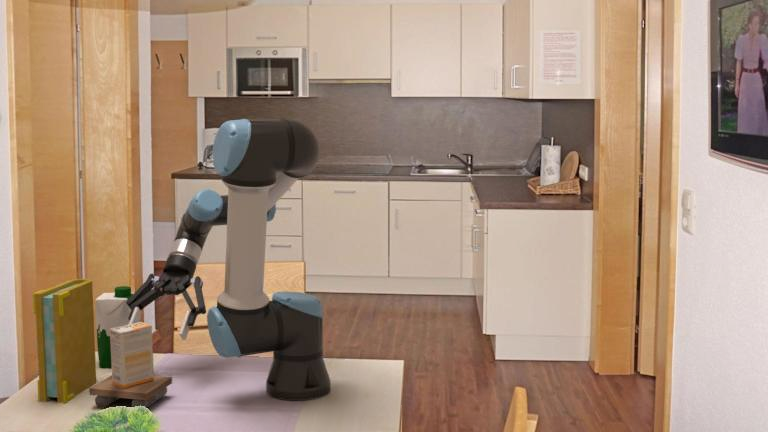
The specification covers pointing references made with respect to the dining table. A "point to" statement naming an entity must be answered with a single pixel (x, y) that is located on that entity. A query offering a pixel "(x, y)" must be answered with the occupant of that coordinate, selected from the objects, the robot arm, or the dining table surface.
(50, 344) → the book
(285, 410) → the dining table surface
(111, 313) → the milk carton
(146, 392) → the slab
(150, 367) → the supplement box
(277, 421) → the dining table surface
